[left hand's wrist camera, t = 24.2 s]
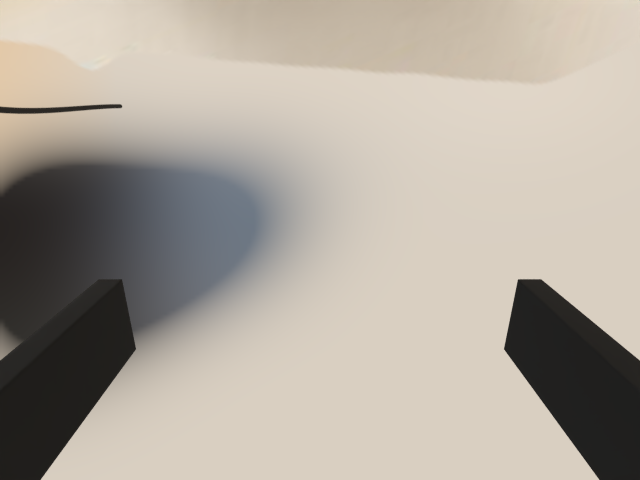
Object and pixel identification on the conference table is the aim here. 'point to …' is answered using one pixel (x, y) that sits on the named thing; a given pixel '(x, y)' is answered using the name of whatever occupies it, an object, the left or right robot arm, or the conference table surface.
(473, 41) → the conference table surface
